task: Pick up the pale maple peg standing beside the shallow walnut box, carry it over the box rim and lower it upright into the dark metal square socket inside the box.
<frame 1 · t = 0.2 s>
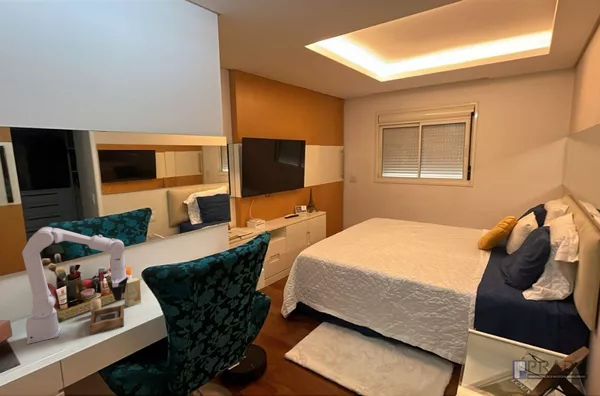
hand: (120, 296, 136), 10 cm above the table, tool pointing down, fingers open, 7 cm apart
maple peg: (96, 314, 140), on the table
skincare box: (133, 304, 151), on the table
socket box: (108, 322, 133), on the table
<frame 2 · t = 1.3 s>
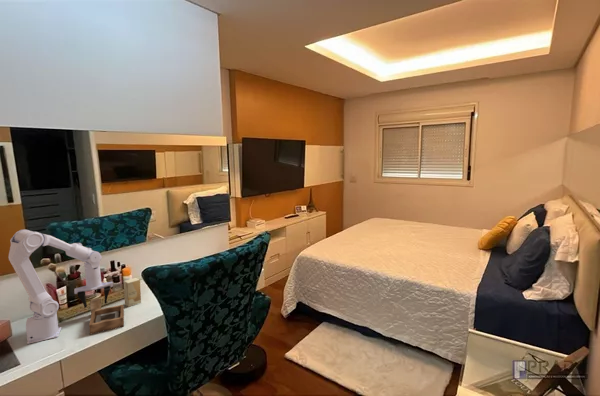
hand: (95, 304, 139), 5 cm above the table, tool pointing down, fingers open, 7 cm apart
nothing on the table moved.
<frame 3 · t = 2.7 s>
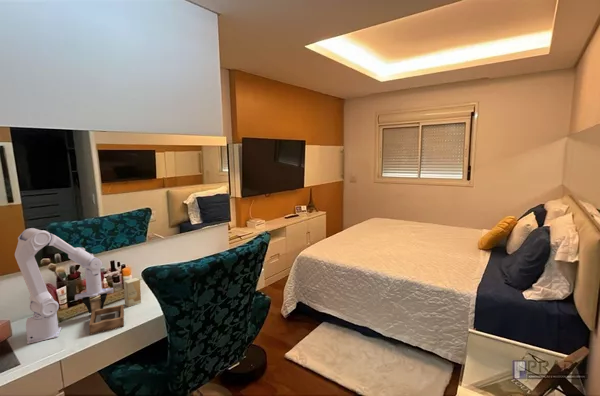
hand: (96, 310, 140), 2 cm above the table, tool pointing down, fingers closed on maple peg, 4 cm apart
maple peg: (96, 314, 140), on the table, touching gripper
everything else where it was.
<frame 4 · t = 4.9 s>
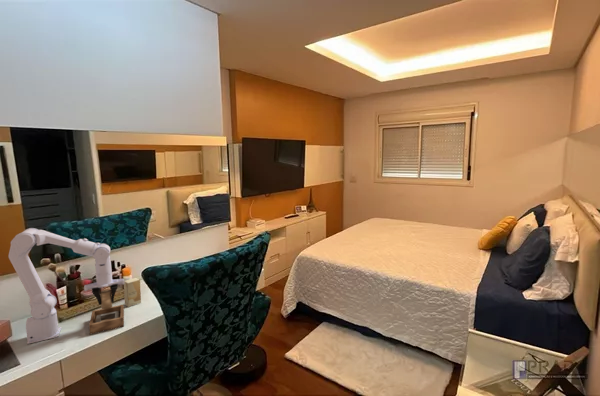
hand: (106, 302, 132), 9 cm above the table, tool pointing down, fingers closed on maple peg, 4 cm apart
maple peg: (106, 306, 132), point 7 cm above the table, touching gripper
everything else where it was.
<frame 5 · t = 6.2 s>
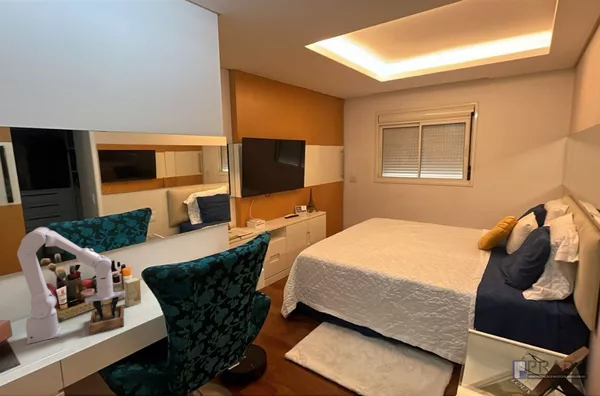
hand: (107, 315, 132), 3 cm above the table, tool pointing down, fingers closed on maple peg, 4 cm apart
maple peg: (107, 319, 133), point 1 cm above the table, touching gripper
everything else where it was.
when the fingers open (3 cm above the table, at t = 7.3 s): maple peg stays where it is, resting on socket box.
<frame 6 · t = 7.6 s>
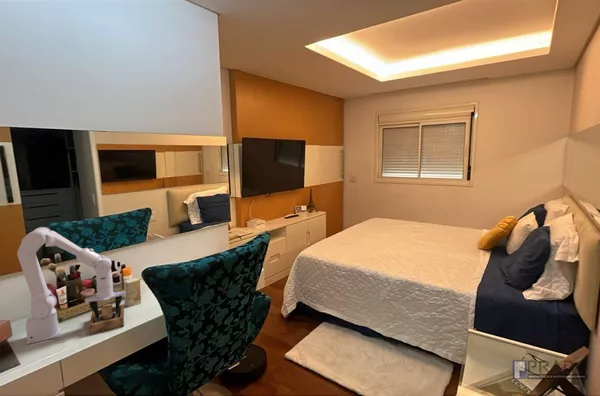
hand: (107, 315, 132), 3 cm above the table, tool pointing down, fingers open, 6 cm apart
maple peg: (108, 321, 133), point 1 cm above the table, touching socket box
everything else where it was.
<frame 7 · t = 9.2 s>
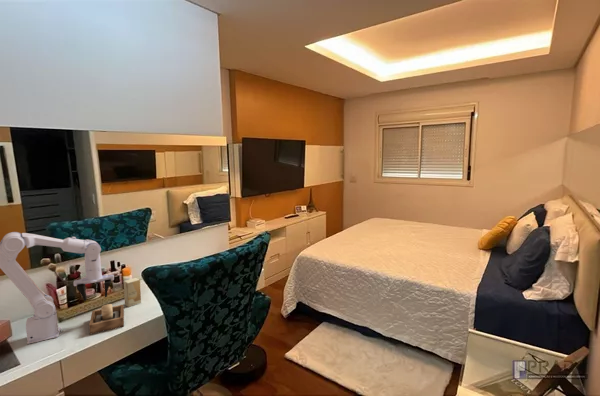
hand: (95, 298, 134), 10 cm above the table, tool pointing down, fingers open, 7 cm apart
nothing on the table moved.
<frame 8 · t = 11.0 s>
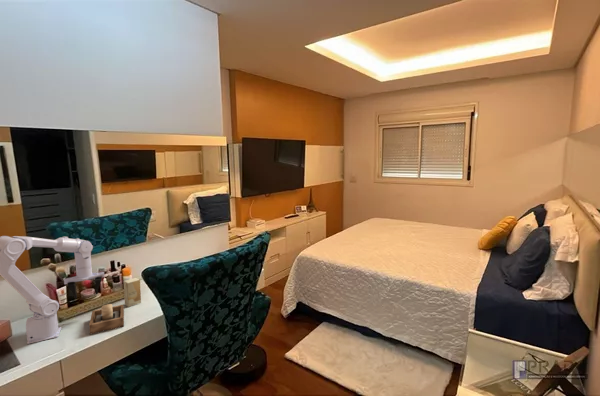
hand: (86, 295, 136), 10 cm above the table, tool pointing down, fingers open, 7 cm apart
nothing on the table moved.
at the end: maple peg 0.2 cm off-centre on the socket box, point 0.6 cm above the socket box's base; maple peg tilted 0°; the gripper is holding nothing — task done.
